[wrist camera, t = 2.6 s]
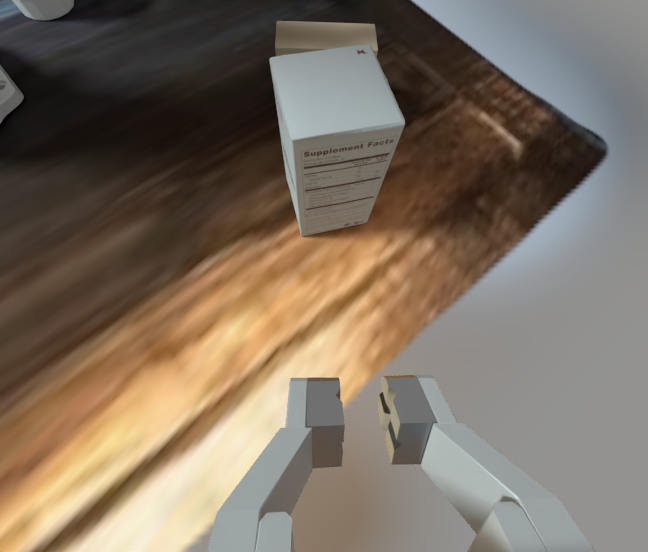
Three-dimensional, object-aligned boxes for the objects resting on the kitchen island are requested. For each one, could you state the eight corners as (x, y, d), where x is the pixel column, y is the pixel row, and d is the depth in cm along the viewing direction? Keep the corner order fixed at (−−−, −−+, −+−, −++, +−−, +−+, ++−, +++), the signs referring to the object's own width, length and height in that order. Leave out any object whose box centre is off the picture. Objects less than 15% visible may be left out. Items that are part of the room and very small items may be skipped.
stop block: (364, 114, 33) (377, 50, 26) (282, 112, 32) (275, 47, 26) (362, 90, 34) (374, 24, 27) (283, 88, 34) (276, 20, 27)
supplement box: (285, 180, 29) (266, 52, 17) (350, 168, 30) (374, 39, 18) (299, 239, 27) (288, 139, 15) (368, 225, 28) (410, 120, 16)
